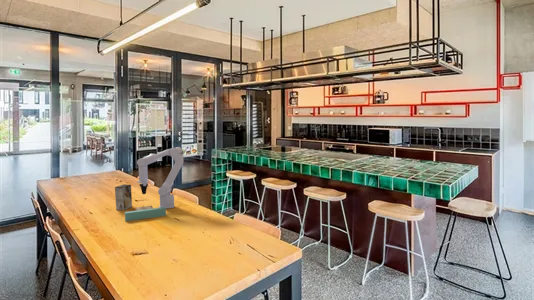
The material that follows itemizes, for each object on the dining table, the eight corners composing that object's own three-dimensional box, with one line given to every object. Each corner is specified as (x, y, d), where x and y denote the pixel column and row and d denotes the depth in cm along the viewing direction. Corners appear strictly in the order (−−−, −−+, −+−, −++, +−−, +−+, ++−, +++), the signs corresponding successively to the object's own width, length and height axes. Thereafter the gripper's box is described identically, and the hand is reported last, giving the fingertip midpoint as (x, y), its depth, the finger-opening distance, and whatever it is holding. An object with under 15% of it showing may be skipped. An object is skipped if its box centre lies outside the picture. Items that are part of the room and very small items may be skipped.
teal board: (165, 214, 203) (164, 206, 203) (165, 215, 201) (165, 208, 200) (125, 219, 192) (124, 212, 192) (125, 221, 189) (125, 213, 189)
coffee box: (124, 206, 221) (123, 184, 220) (132, 206, 220) (131, 184, 218) (115, 209, 212) (114, 186, 211) (123, 210, 211) (122, 187, 209)
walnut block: (152, 212, 207) (151, 205, 206) (153, 216, 200) (153, 208, 199) (135, 215, 202) (135, 207, 202) (137, 218, 195) (136, 210, 195)
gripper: (136, 173, 222) (136, 192, 223) (138, 177, 209) (139, 196, 210) (146, 172, 225) (147, 191, 226) (149, 176, 212) (150, 195, 214)
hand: (144, 193), depth 219 cm, fingers closed
